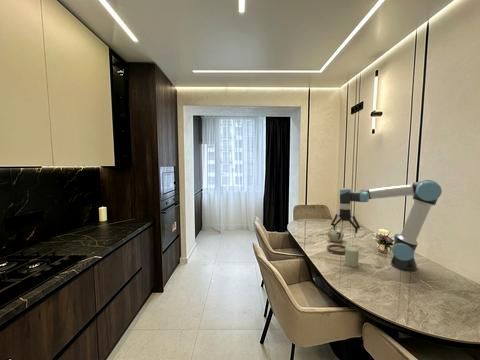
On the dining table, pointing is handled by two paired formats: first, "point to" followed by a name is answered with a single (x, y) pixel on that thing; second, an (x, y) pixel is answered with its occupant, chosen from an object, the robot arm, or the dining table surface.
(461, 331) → the dining table surface
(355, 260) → the grey-green tapered block
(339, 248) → the trivet
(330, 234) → the sugar bowl
